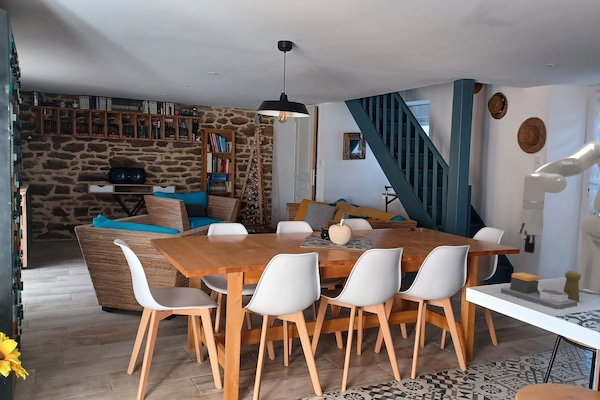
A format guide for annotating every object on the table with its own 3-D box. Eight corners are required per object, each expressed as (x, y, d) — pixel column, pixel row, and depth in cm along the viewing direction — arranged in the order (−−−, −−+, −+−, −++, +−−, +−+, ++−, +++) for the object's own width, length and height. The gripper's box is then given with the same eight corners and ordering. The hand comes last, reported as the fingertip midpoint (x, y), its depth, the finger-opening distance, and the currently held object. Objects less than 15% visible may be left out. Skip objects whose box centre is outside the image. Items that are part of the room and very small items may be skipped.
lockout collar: (546, 294, 192) (547, 287, 192) (571, 300, 184) (572, 294, 184) (532, 296, 187) (533, 290, 187) (557, 303, 179) (557, 296, 179)
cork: (581, 302, 188) (584, 274, 187) (564, 300, 189) (567, 272, 188) (576, 298, 194) (579, 270, 193) (559, 296, 195) (562, 269, 194)
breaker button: (521, 283, 200) (522, 272, 199) (537, 287, 194) (538, 276, 193) (510, 284, 196) (511, 273, 196) (527, 289, 190) (528, 277, 190)
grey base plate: (520, 289, 203) (521, 274, 203) (576, 305, 184) (578, 289, 184) (500, 292, 196) (502, 277, 196) (557, 309, 177) (559, 292, 177)
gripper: (535, 203, 199) (531, 249, 201) (512, 205, 191) (508, 252, 193) (553, 206, 193) (549, 252, 195) (530, 207, 185) (526, 255, 187)
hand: (529, 252), depth 194 cm, fingers closed
